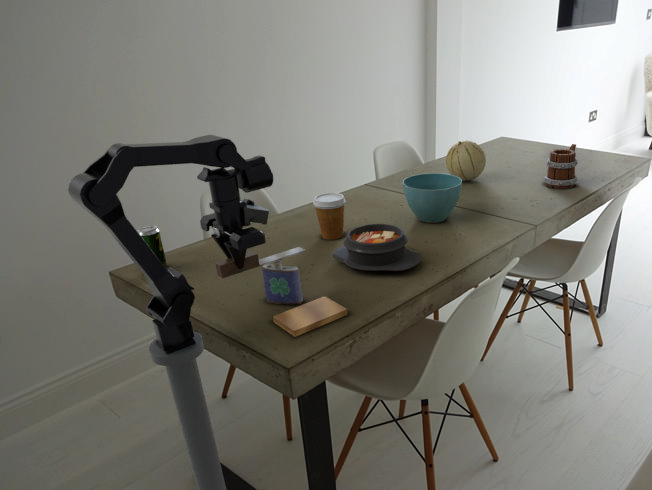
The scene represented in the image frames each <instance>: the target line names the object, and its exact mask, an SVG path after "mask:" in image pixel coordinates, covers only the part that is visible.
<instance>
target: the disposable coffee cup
mask: <svg viewBox="0 0 652 490" xmlns="http://www.w3.org/2000/svg"><path fill="white" fill-rule="evenodd" d="M346 203H347V200H346V198H345V196H344V195H343V194H342V193H338V192H325V193H320V194H317V195H316V196H314V199H313V201H312V205H313V206H314V209H315V212H316V216H317V221H318V225H319V229H320V232H321V237H322V239H324V240H337V239H341V238H343V236H344V225H345V224H344V223H345V205H346Z"/></svg>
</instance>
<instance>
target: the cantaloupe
mask: <svg viewBox="0 0 652 490" xmlns="http://www.w3.org/2000/svg"><path fill="white" fill-rule="evenodd" d="M445 164H446V168H447V170H448V172H449V174H450V175H454V176H457V177H459V178H460V179H461V180H462V182H467V181H471V180H475V179H477V178H479V176H481V174H482V173H483V172H484V169H485V168H486V164H487V159H486V154H485V151H484V149H483V148H482V147H481V146H480V145H479V144H478V143H477V142H475V141H473V140H468V139H467V140H459V141H458V142H456V143H454V144H453V145H452V146H450V148H449V150H448V151H447V153H446V157H445Z"/></svg>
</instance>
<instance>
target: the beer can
mask: <svg viewBox="0 0 652 490" xmlns="http://www.w3.org/2000/svg"><path fill="white" fill-rule="evenodd" d="M136 230H137V232H138V233H139V234H140V236H141V237H142V238H143V239H144V241H145V242H146V243H147V245H148V246H149V247H150V249H151V250H152V251H153V252H154V254H155V255H156V256H157V258H158V259H159V260H160V261H161V263H162V264H163V265H164V267H165V268H166V269H168V261H167V259H166V253H165V249H164V245H163V241H162V237H161V233H160V229H159V228H158V226H157V225H155V224H147V225H143V226H139V227H138V228H137V229H136Z"/></svg>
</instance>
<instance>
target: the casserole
mask: <svg viewBox="0 0 652 490" xmlns="http://www.w3.org/2000/svg"><path fill="white" fill-rule="evenodd" d="M408 240H409V239H408V236H407V235H406V234H405V231H404V230H403V229H402V228H401V227H399V226H397V225H393V224H388V223H370V224H365V225H363V224H362V225H360V226H357V227H354V228H352V229H350V230H349V231H348V232H347V234H346V238H345V239H344V240H343V245H342V246H340V247H338V248H337V249H336V250H334V251H333V253H332V255H331V256H332V258H333V259H335V260H338V261H340V262H341V263H343V264H344V265H346V266H347V267H349V268H352V269H355V270H360V271H365V272H367V271H369V272H377V271H378V272H379V271H390V272H403V271H406V270H409V269H411V268H415V266H417V265H418V264H420V262H421V261H422V259H423V256H422V254H421V253H419V252H417V251H414V250H411V249H409V248H407V247H406V245H407V243H408Z"/></svg>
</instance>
